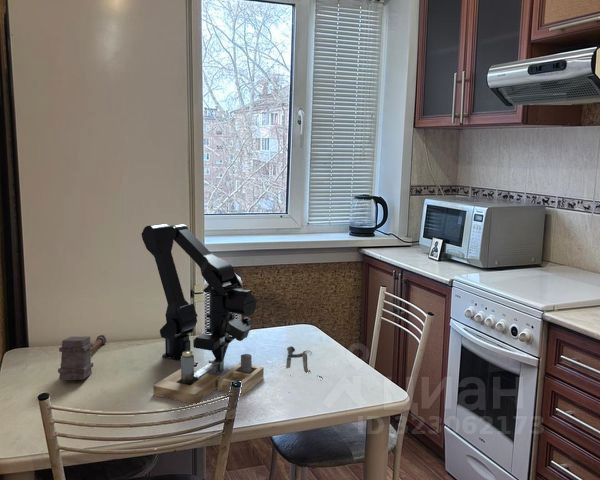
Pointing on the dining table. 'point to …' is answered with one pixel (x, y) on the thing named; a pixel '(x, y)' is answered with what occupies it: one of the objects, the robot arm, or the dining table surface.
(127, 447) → the dining table surface
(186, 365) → the grey metal cylinder
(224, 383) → the rack
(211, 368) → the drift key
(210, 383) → the socket block
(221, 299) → the robot arm
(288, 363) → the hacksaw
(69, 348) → the hammer
